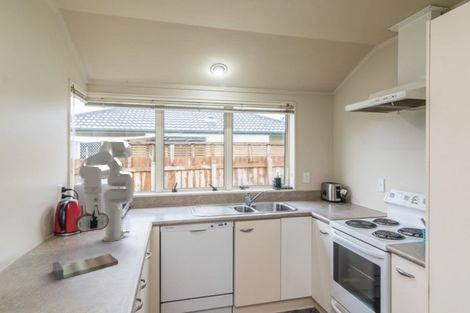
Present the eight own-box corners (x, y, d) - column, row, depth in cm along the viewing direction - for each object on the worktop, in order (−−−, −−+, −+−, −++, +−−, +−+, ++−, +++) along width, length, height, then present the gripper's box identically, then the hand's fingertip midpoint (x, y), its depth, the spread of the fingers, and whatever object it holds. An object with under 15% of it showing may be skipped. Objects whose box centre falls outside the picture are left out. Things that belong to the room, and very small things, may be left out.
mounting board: (109, 256, 139) (109, 253, 139) (117, 263, 131) (117, 260, 130) (57, 269, 123) (57, 266, 123) (63, 278, 115) (63, 275, 115)
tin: (107, 227, 137) (107, 211, 137) (109, 228, 134) (109, 211, 135) (74, 232, 127) (74, 215, 127) (75, 233, 124) (76, 215, 125)
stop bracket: (57, 269, 123) (57, 261, 123) (63, 278, 115) (63, 269, 115) (52, 270, 122) (52, 262, 122) (57, 280, 113) (57, 270, 113)
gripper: (106, 191, 128) (106, 229, 127) (96, 188, 139) (96, 223, 139) (89, 192, 122) (88, 232, 122) (80, 189, 134) (80, 225, 134)
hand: (92, 227), depth 131 cm, fingers closed on tin, 2 cm apart
